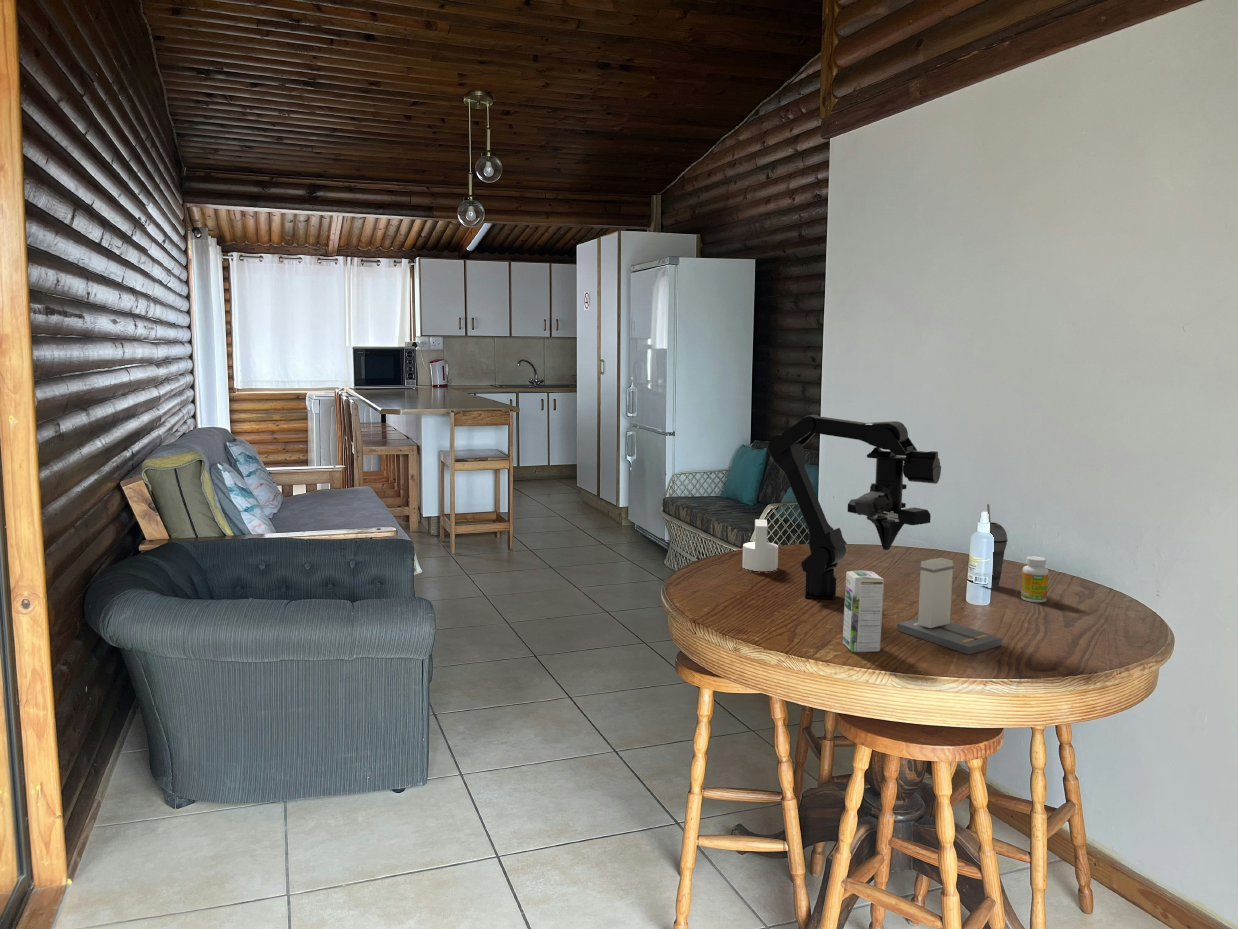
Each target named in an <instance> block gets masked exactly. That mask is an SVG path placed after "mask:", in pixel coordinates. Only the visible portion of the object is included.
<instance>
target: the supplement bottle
mask: <svg viewBox="0 0 1238 929" xmlns="http://www.w3.org/2000/svg"><path fill="white" fill-rule="evenodd" d="M1025 563H1026V564H1027V565H1025V566H1023V567H1022V571H1021V572H1022V574H1021V588H1020V589H1021V590H1020V598H1021V599H1022V600H1024V601H1026V602H1030V603H1045V602H1046V601H1047V598H1048V597H1047V596H1048V583H1049V570H1048V568H1047V567H1045V566H1046V564H1047V559H1046V558H1045V557H1043V556H1036V555H1035V556H1033V555H1028V556H1026V562H1025Z"/></svg>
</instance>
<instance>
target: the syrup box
mask: <svg viewBox="0 0 1238 929" xmlns="http://www.w3.org/2000/svg"><path fill="white" fill-rule="evenodd" d="M884 585H885V579H884V578H883V577H881V576H880V575H878V573H876V572H874V571H871V570H850V571H846V577H845V590H844V592H845V595H844V608H843V609H844V610H843V627H842V628H843V629H842V630H843V631H842V644H843V645H844V646H845V647H846V648H848V649H849V650H850V652H851V653H871V652H880V651H881V639H882V623H883V622H882V620H883V604H884Z"/></svg>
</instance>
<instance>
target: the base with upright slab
mask: <svg viewBox="0 0 1238 929" xmlns="http://www.w3.org/2000/svg"><path fill="white" fill-rule="evenodd" d="M767 520H768V519H757V518H756V519H754V541H750V542H748V541H747V542H745V543H743V545H742V569H743V568H745V569H749V570H753V571H773V570H776V569H777V568H778V566H779V545H778V544H776V543H772V542H768V521H767ZM777 570H778V569H777ZM777 570H776V571H777ZM773 572H774V571H773Z"/></svg>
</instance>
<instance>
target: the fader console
mask: <svg viewBox="0 0 1238 929" xmlns="http://www.w3.org/2000/svg"><path fill="white" fill-rule="evenodd" d="M896 630H897V631H898V632H901V633H904V634H906V635H910V636H912V637H915V638H918V639H920V640H925V641H927V642H931V643H933V644H936V645H939V646H942V647H946V648H948V649H950V650H953V651H957V652H959V653H963V654H966V655H972V654H975V653H980V652H983V651H986V650H990V649H993V648H997V647H1001V646H1002V644H1003V637H1001V636H997V635H994V634H991V633H988V632H985V631H981V630H978V629H974V628H972V627H968V626H965V625H961V624H959V623H955V622H953V621H950V623H949V624H945V625H941V626H937V627H933V628H928V627H925V626H922V625H919V624H918V618H914V619H909V620H906V621H901V622H897V625H896Z"/></svg>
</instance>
